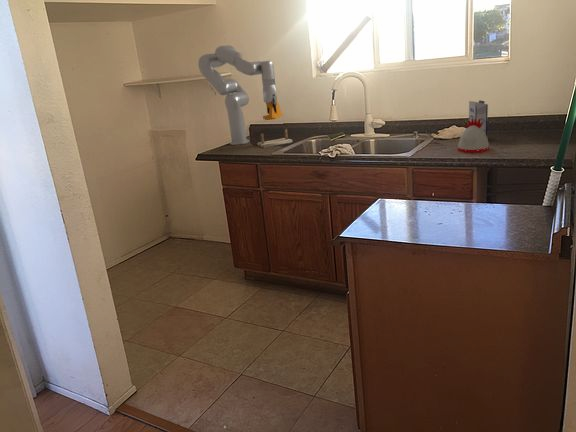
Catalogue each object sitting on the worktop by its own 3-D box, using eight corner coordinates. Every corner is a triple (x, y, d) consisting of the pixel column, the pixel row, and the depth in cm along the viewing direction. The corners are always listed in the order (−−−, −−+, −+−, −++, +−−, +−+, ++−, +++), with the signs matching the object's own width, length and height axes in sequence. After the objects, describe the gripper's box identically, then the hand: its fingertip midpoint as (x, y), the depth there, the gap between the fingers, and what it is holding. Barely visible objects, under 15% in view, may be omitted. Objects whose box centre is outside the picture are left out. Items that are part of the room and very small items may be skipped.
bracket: (272, 118, 302) (269, 98, 299) (282, 117, 298) (279, 97, 295) (262, 120, 293) (259, 100, 290) (272, 119, 289) (269, 99, 286)
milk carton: (468, 139, 258) (468, 100, 252) (480, 137, 258) (481, 99, 252) (474, 141, 251) (475, 101, 245) (486, 139, 252) (488, 100, 245)
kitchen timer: (481, 154, 225) (482, 121, 220) (453, 152, 234) (453, 120, 229) (493, 147, 234) (494, 116, 229) (465, 146, 243) (465, 115, 238)
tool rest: (257, 145, 301) (256, 133, 298) (285, 140, 308) (284, 128, 305) (264, 147, 292) (262, 134, 290) (292, 142, 299) (291, 129, 297)
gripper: (257, 83, 295) (260, 113, 300) (269, 83, 280) (272, 115, 286) (268, 81, 298) (271, 111, 303) (280, 82, 283) (283, 113, 289)
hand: (272, 113), depth 294 cm, fingers closed on bracket, 5 cm apart
